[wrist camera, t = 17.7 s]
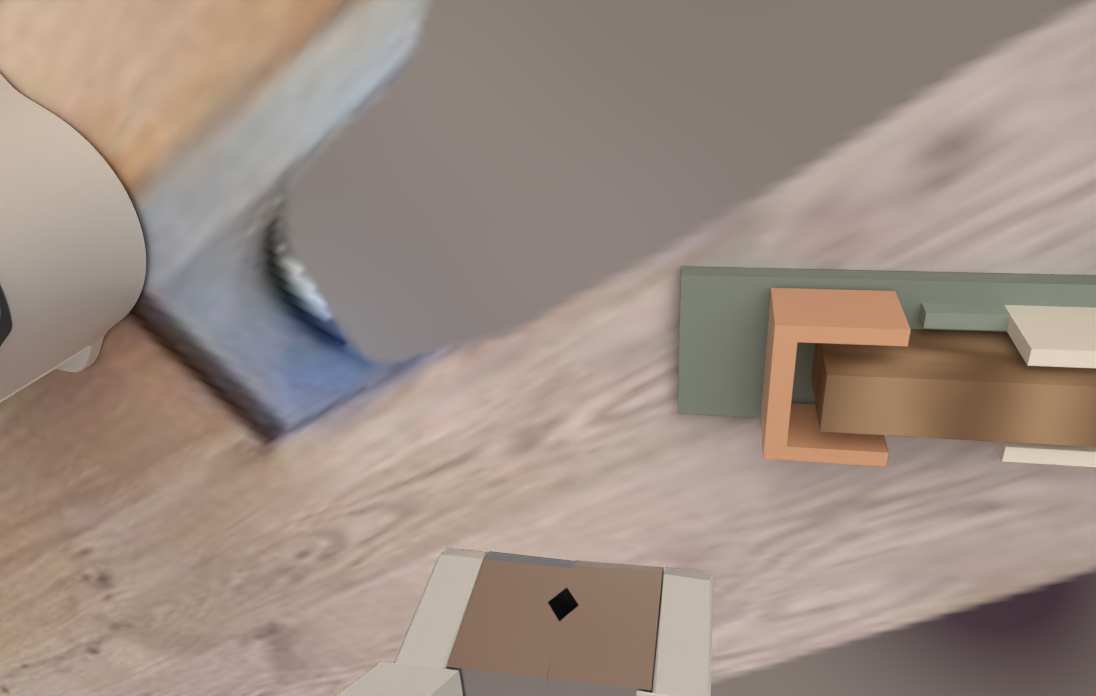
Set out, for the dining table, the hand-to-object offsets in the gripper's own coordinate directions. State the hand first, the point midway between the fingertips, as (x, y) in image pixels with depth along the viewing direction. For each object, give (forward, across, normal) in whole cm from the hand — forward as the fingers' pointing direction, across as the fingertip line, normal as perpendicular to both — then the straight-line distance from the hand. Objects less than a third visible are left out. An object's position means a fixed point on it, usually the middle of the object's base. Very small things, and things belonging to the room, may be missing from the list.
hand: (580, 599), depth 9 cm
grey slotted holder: (+31, -10, +14) cm, 36 cm away
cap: (+30, -7, +14) cm, 34 cm away
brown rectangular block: (+30, -12, +14) cm, 35 cm away
